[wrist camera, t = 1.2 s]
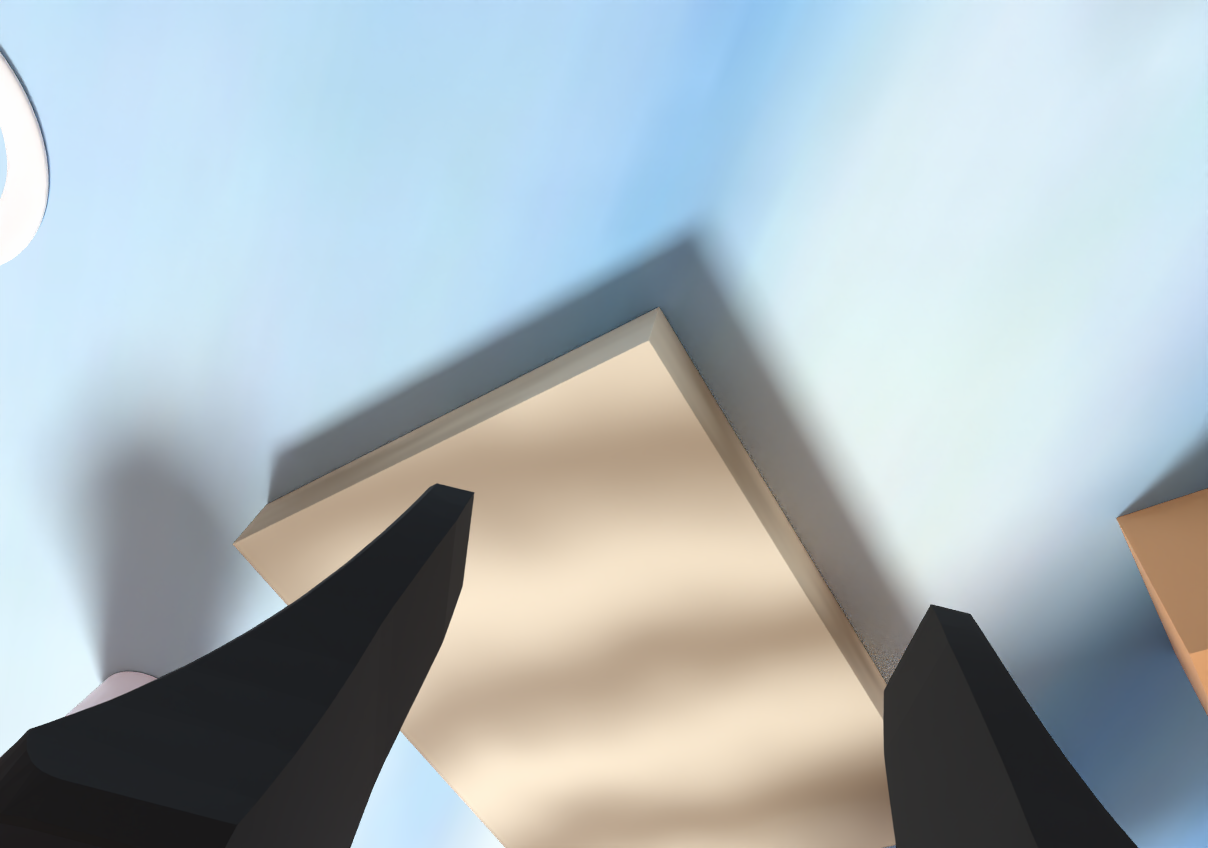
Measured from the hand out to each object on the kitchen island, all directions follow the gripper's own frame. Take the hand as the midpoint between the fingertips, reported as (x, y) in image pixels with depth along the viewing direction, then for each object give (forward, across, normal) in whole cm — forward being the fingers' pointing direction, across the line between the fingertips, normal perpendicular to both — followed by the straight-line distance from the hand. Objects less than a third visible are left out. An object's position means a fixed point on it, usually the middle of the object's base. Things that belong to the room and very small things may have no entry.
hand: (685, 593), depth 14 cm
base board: (+9, +1, +12) cm, 15 cm away
